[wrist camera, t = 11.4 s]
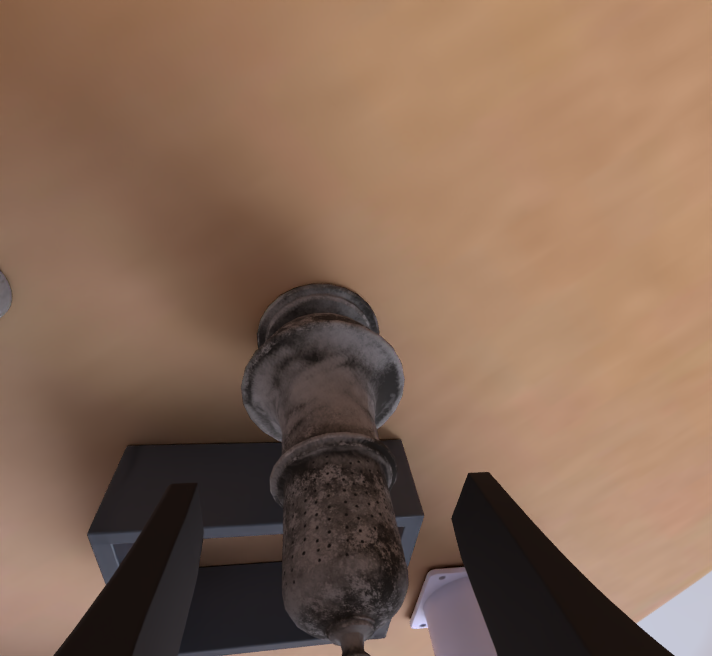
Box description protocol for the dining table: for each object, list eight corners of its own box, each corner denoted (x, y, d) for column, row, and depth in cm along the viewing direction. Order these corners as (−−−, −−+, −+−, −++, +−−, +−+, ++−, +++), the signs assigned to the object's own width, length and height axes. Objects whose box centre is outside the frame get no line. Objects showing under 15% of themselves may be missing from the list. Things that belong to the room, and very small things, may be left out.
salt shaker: (219, 330, 17) (108, 715, 7) (334, 248, 16) (414, 562, 5) (307, 410, 20) (324, 762, 9) (409, 346, 18) (553, 669, 8)
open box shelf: (401, 439, 22) (424, 515, 18) (372, 561, 27) (385, 638, 24) (126, 444, 19) (85, 534, 15) (158, 577, 25) (135, 665, 21)
